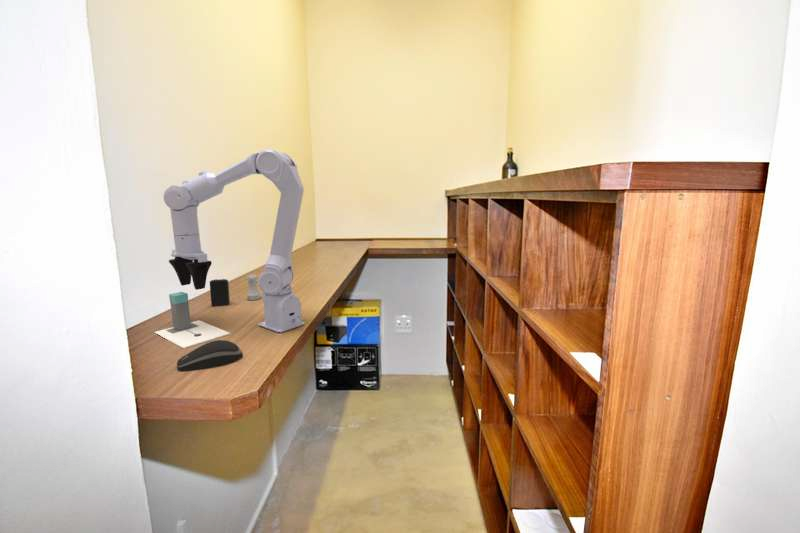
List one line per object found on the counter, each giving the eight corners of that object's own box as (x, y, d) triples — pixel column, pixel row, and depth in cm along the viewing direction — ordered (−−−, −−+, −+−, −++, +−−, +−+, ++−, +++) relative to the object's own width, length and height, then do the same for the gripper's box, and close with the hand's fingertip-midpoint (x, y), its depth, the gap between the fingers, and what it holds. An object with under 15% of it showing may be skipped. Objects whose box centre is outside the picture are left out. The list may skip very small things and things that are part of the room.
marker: (191, 327, 97) (187, 293, 96) (178, 331, 95) (174, 296, 93) (186, 325, 99) (182, 291, 97) (173, 328, 97) (168, 294, 95)
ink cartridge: (230, 303, 120) (228, 278, 118) (229, 305, 118) (227, 280, 116) (212, 304, 119) (210, 279, 117) (211, 306, 116) (209, 281, 115)
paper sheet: (230, 334, 94) (230, 332, 94) (183, 348, 85) (183, 347, 85) (199, 321, 103) (198, 319, 103) (154, 333, 95) (153, 331, 95)
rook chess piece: (256, 301, 122) (254, 276, 121) (243, 300, 123) (241, 276, 122) (263, 297, 126) (262, 273, 125) (251, 296, 127) (249, 273, 126)
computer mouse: (177, 362, 79) (174, 344, 78) (240, 350, 85) (238, 333, 84) (177, 376, 73) (174, 356, 72) (245, 362, 79) (243, 344, 78)
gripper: (156, 234, 97) (163, 285, 100) (183, 238, 89) (190, 294, 91) (185, 231, 103) (191, 280, 105) (213, 235, 94) (218, 288, 97)
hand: (192, 286), depth 99 cm, fingers open, 7 cm apart
